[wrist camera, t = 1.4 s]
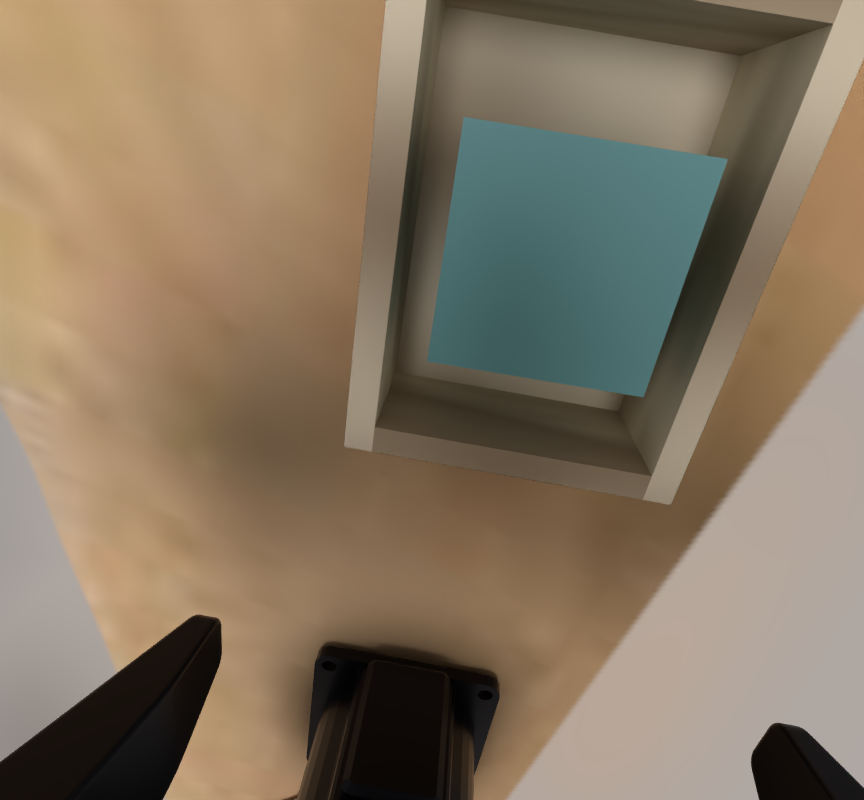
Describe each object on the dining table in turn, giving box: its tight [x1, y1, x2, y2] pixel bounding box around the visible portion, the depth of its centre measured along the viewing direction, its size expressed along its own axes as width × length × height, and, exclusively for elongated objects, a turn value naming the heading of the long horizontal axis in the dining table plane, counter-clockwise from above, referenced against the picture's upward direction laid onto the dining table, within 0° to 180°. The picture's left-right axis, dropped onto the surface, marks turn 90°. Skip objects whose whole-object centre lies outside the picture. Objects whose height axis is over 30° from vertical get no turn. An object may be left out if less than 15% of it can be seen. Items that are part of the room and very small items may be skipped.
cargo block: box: [427, 117, 728, 397], centre depth 10 cm, size 4×4×4 cm
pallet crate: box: [344, 0, 864, 505], centre depth 11 cm, size 9×7×4 cm
